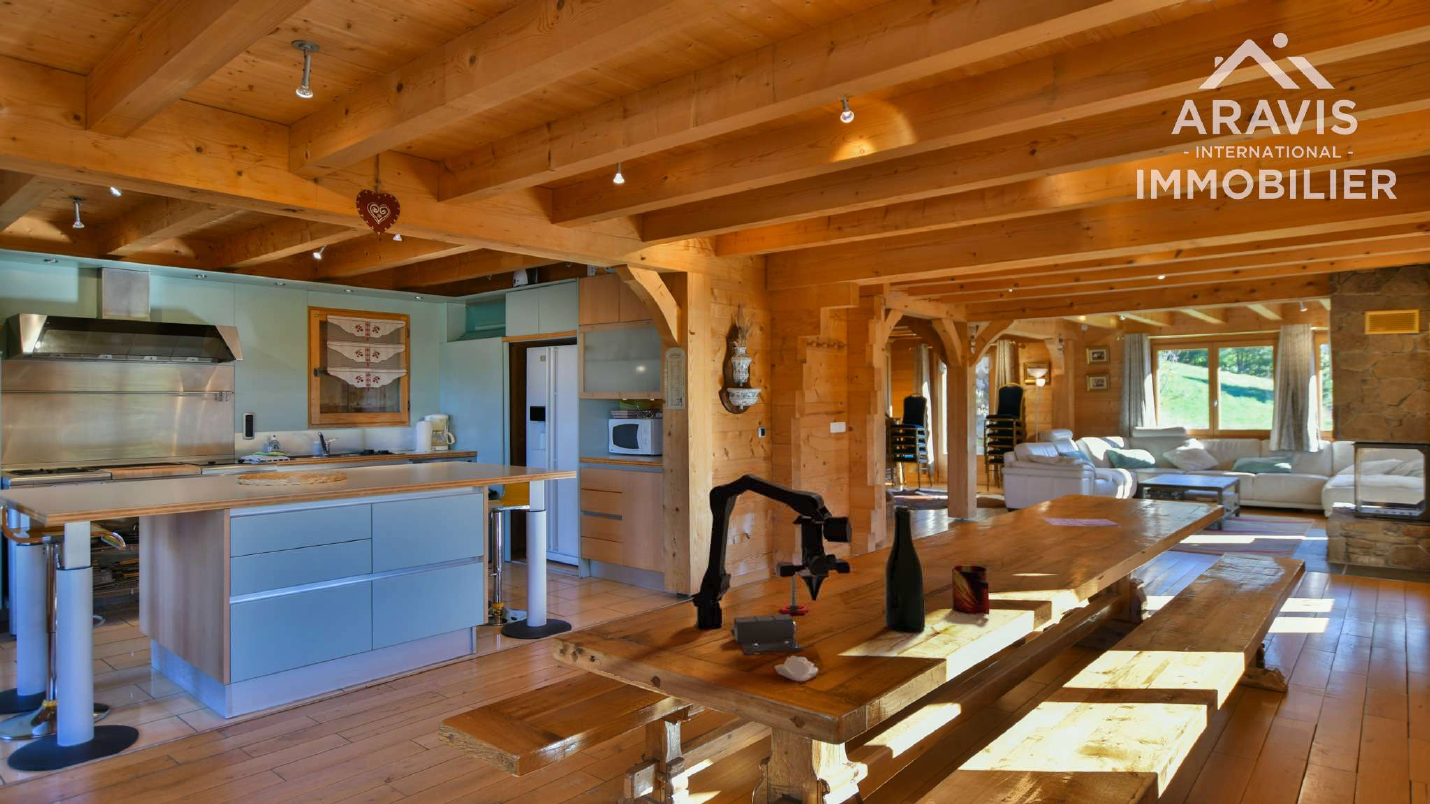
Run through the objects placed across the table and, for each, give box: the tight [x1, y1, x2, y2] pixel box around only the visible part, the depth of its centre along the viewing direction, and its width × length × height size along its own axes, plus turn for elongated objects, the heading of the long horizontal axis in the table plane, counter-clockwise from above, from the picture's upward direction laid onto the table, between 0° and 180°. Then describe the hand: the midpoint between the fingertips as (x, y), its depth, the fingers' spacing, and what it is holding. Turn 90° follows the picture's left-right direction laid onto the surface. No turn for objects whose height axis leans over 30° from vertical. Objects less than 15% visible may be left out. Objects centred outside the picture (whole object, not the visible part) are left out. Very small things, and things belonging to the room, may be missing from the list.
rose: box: [774, 655, 819, 682], centre depth 181 cm, size 10×4×10 cm
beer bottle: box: [884, 505, 926, 633], centre depth 215 cm, size 10×10×33 cm
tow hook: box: [780, 573, 810, 615], centre depth 236 cm, size 8×13×9 cm
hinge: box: [731, 613, 803, 656], centre depth 208 cm, size 15×23×6 cm, turn 8°
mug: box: [951, 564, 990, 615], centre depth 230 cm, size 10×14×12 cm
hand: (813, 600), depth 210 cm, fingers closed
